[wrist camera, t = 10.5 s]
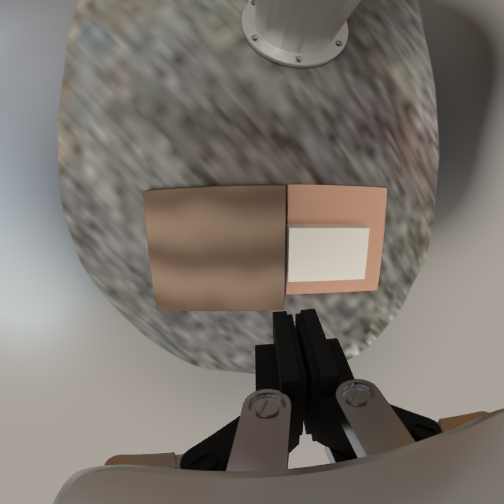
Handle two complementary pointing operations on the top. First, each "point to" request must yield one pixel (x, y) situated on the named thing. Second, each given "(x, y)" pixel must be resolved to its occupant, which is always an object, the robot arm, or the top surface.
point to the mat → (340, 212)
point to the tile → (326, 251)
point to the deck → (217, 247)
